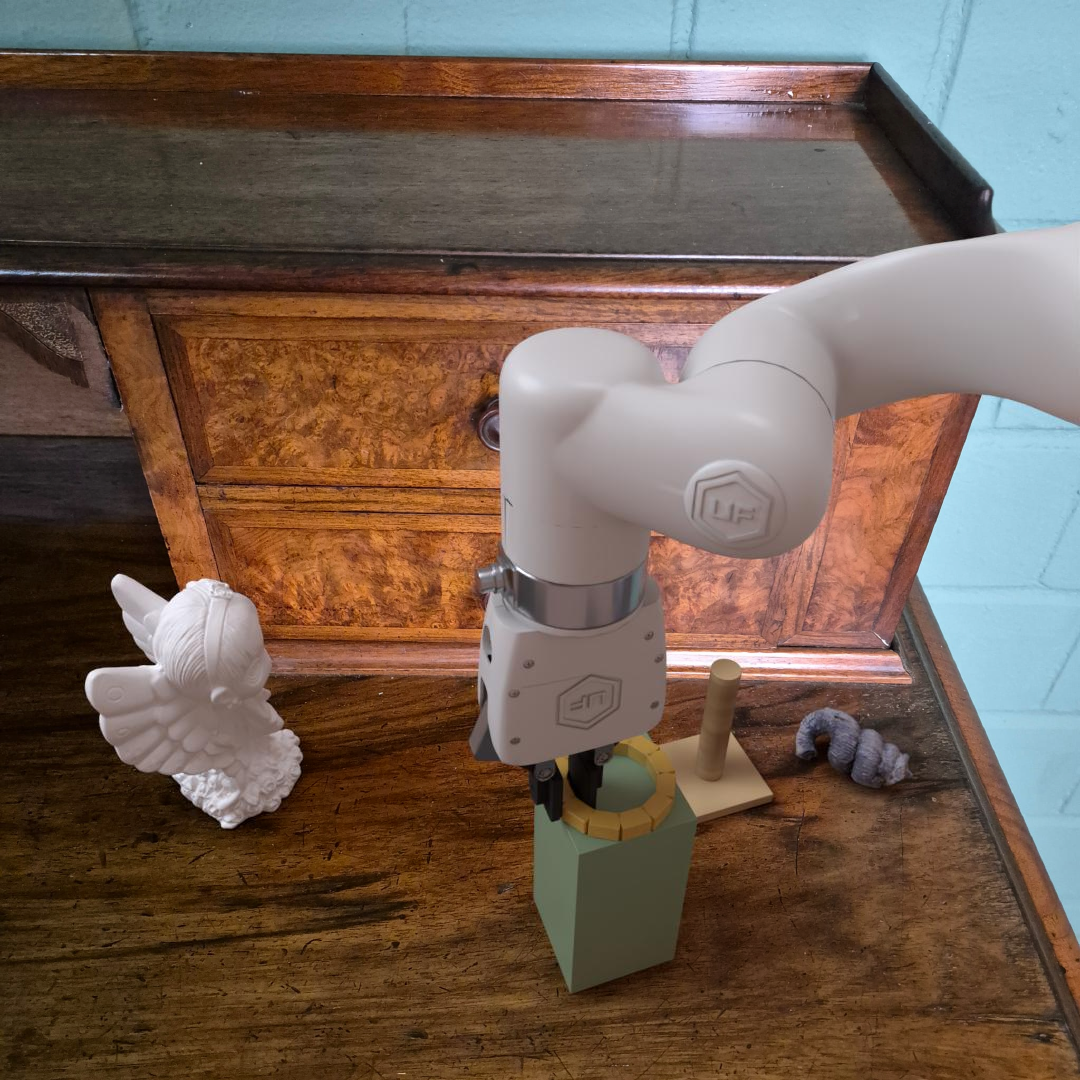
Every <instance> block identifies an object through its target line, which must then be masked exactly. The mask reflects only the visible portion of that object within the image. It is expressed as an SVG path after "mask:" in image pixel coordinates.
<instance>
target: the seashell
mask: <svg viewBox="0 0 1080 1080" xmlns="http://www.w3.org/2000/svg"><path fill="white" fill-rule="evenodd" d="M828 734H829V737H830V741H829V743H828V744H829V747H828V750H827V759H828V761H829V763H830V765H831V767H832V768H834V769H835V770H836V771H838V772H840V773H842V774H844V773H851V775H850V777H851V779H852V780H853V781H854V782H855V783H858V784H860V785H862V786H865V787H869V788H873V789H879V788H881V786H885V787H889V786H892V785H895V784H897V783H899V782H901V781H903V780H904V779H909V778H910V779H912V778H913V777H914V774H913V772H912V771H910V769H909V762H910V755H909V753H902V752H901V751H900V747H899V746H898V744H894V743H889V742H884V739H883V736H882V735H881V734H880V733H879V732H877V731H876V730H875V729H873V728H869V729H868V728H862V729H861V727H860V724H859V723H858V721H856V719H855V718H854V717H853V716H851V715H850V714H848V713H847V712H845V711H842V710H838V709H836V708H835V707H833V708H831V707H828V706H825V707H824V708H820V709H816V710H814V711H811V712H810V713H809V714H808V715H806V716H804V718H803V719H802V721H801V722H800V726H799V728H798V731H797V733H796V738H795V756H797V757H799V758H800V759H803V760H806V761H811V760H812V758H814V757H817V756H818V754H819V753H818V751H817V749H816V747H815V746H816V741H817V739H818V738H819V737H821V736H825V735H828Z"/></svg>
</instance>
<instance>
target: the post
mask: <svg viewBox="0 0 1080 1080" xmlns="http://www.w3.org/2000/svg"><path fill="white" fill-rule="evenodd" d="M742 672H743V670H742V667H741V665H740V664H739V663H738V662H737V661H735V660H733V659H730V658H719V659H716V660H714V661H713V662H712V664H711V665H710V671H709V677H708V681H707V688H706V695H705V702H704V708H703V713H702V722H701V726H700V733H699V734H695V735H692V736H688V737H685V738H680V739H677V740H674V741H669V742H665V743H662V744H659V745H658V744H657V745H658V746H659V747H660V750H662V749H663V751H664V752H665V754H666V756H667V757H668V759H669V761H670V763H671V764H672V766H673V768H674V769H675V774H676V783H677V784H678V786H679V788H680V790H681V791H682V793H683V795H684V796H685V798H686V800H687V801H688V803H689V805H690V807H691V808H692V810H693V812H694V813H695V815H696V817H697V818H698V821H697V825H698V824H702V823H705V822H708V821H711V820H715V819H718V818H722V817H724V816H728V815H731V814H735V813H739V812H741V811H745V810H748V809H752V808H754V807H758V806H762V805H764V804H767V803H772V802H773V797H774V793H773V791H772V790H771V788H770V787H769V786H768V784H767V782H766V781H765V779H764V778H763V776H762V775H761V774H760V772H759V771H758V769H757V768H756V766H755V765H754V763H753V762H752V761H751V759H750V758H749V756H748V754H747V753H746V752H745V750H744V749H743V747H742V746H741V744H740V743H739V741H738V740H737V738H736V737H735V735H734V734H733V732H732V726H733V721H734V715H735V711H736V706H737V701H738V694H739V689H740V684H741V678H742V674H743V673H742Z"/></svg>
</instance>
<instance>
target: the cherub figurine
mask: <svg viewBox="0 0 1080 1080" xmlns="http://www.w3.org/2000/svg"><path fill="white" fill-rule="evenodd" d="M110 586H111V587H110V588H111V591H112V594H113V596H114V598H115V600H116V602H117V604H118V606H119V607H120V608H121V609H122V620H123V622H124V625H125V627H126V628H127V630H128V632H129V633H130V634H131V635H132V638H133V641H134V642H135V645H137V646H138V648H139V649H140V650H142V651H143V652H144V654H145V656H146V657H147V659H149V661H150V662H152V663H154V664H155V665H154V664H153V665H145V664H144V665H139V666H120V667H101V668H96V669H94V670H91V671H90V672H89V673H88V674H87V676H86V678H85V682H84V683H85V684H84V690H85V695H86V698H87V699H88V700H87V701H89V703H90V705H91V707H93V708H94V709H95V711H96V712H98V713H99V719H98V720H99V721H98V723H99V727H100V731H101V733H102V735H103V737H104V739H105V740H106V741H107V743H109V744H110V746H112V747H114V749H115V752H116V754H117V756H118V757H119V759H120V760H121V761H122V762H123V763H124V764H126V765H130V766H134V767H135V768H136V769H137V770H138V771H140V772H142V773H145V774H146V773H147V774H148V773H154V772H158V773H159V774H162V775H163V776H164V775H165V776H171V777H172V778H173V780H175V781H176V782H177V783H178V784H179V785H180V792H181V794H182V795H183V797H185V798H186V799H187V800H188V801H191V802H192V804H193V805H194V806H195V807H197V808H199V809H201V810H202V811H203V812H204V813H206V814H208V815H209V816H210V817H213V818H214V819H215V820H217V821H218V822H219V823H220V827H221V828H222V829H225V830H226V829H228V830H233V829H234V828H236V827H237V826H238V825H240V824H241V823H243V822H244V821H245V820H247V819H248V818H253V817H255V816H258V815H260V814H261V813H262V812H267V813H268V812H269V813H273V812H275V811H276V810H278V808H280V805H281V803H282V799H285V798H287V797H288V796H289V795H290V793H291V791H293V788H294V786H295V784H296V782H297V781H298V779H299V778H300V776H301V774H302V770H301V766H300V764H301V762H302V761H303V758H304V755H303V752H302V751H301V748H300V747H299V745H300V743H301V740H300V737H298V736H297V735H296V734H294V733H295V732H293V731H292V730H291V729H287V728H285V729H283V728H284V725H285V721H284V719H283V718H282V717H281V716H280V715H279V714H278V712H277V710H276V709H275V708H274V707H273V706H272V705H271V704H270V703H269V702H267V701H268V700H269V698H270V697H271V696H272V692H271V690H270V689H267V688H265V685H266V683H267V681H268V679H269V677H270V675H271V672H272V668H273V664H272V659H271V657H270V655H269V653H268V650H266V648H265V647H264V634H263V631H262V628H261V625H260V618H259V612H258V610H257V607H256V605H255V603H254V602H253V601H252V600H251V599H250V598H249V597H247V596H245V595H244V594H241V593H239V592H234V591H233V590H232V589H231V588H230V585H229V584H228V583H227V582H222V581H220V580H216V579H213V578H212V579H211V578H207V577H206V578H201V579H199V580H198V581H196V580H192V581H188V582H187V583H186V584H185V588H183V589H182V590H181V591H179V592H178V593H176V595H174V596H173V597H172V598H171V599H170V600H169V601H168V600H166V599H164V598H163V597H162V596H160V595H158V594H157V593H155V592H153V591H152V590H151V589H149V588H148V587H146V586H144V585H143V584H142V583H140V582H139V581H137V580H136V579H134V578H132V577H129V576H128V575H125V574H123V573H118V574H116V575H115V576H114V577H113V578H112V579H111V583H110Z"/></svg>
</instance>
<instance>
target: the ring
mask: <svg viewBox="0 0 1080 1080" xmlns="http://www.w3.org/2000/svg"><path fill="white" fill-rule="evenodd" d="M613 754H617V755H624V756H628V757H630V758H631V759H633V760H635V761H636V762H638V763H639V764H641V765H643V766H644V767H646V768H647V770H648V772H649V774H650V775H651V777H652V779H653V781H654V783H655V784H656V787H655V793H654V794H653V795H652V796H651V797H650V798H649V799H648V800H647V801H646V802H645V803H644V805H643V806H642V807H639V808H635V809H632V810H628V811H625V812H621V813H613V812H607V811H600V810H594V809H593V808H591V807H590V806H588V805H587V804H585V803H584V802H582V801H581V800H579V799H578V798H576V797H575V795H574V793H573V791H572V789H571V787H570V785H569V782H568V771H569V770H568V756H564V757H560V758H556V759H555V761H556V763H557V766H558V768H559V770H560V772H561V774H562V777H563V781H564V784H563V809H562V817H561V819H563V820H564V821H565V822H567V823H568V824H570V825H571V826H572V827H574V828H575V829H577V830H578V831H580V832H581V833H582V834H585V833H586V832H587V831H588V836H589V837H595V838H601V839H607V840H614V841H618V840H619V835H620V837H621V839H622V841H625V840H628V839H632V838H635V837H638V836H641V835H645V834H648V833H650V832H651V829H652V830H655V829H656V828H657V827H658V825H659V824H660V823H661V822H662V821H663V820H664V819H665V818H666V817H667V816H668V814H669V813H670V812H671V808H673V802H674V793H675V782H676V774H675V769H674V768H673V766H672V764H671V763H670V761H669V759H668V757H667V756H666V754H665V752H664V751H663V749H662V750H660V747H659V746H658V744H656V743H655V742H653V741H652V742H651V741H650V740H648V739H646V738H645V737H643V736H641V735H639V736H636V737H633V738H630V739H626V740H623V741H620V742H619V743H618V744H617V745H616V746H615V747H614V750H613Z"/></svg>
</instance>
